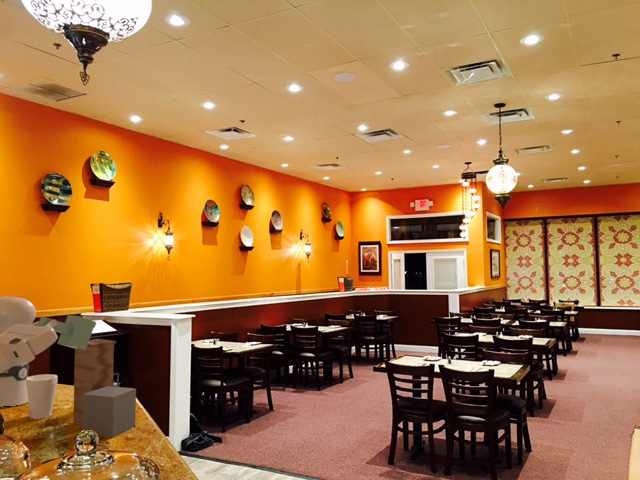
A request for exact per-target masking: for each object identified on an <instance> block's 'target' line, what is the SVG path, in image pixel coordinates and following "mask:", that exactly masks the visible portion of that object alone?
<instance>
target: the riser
mask: <svg viewBox="0 0 640 480" xmlns="http://www.w3.org/2000/svg"><path fill="white" fill-rule="evenodd" d="M136 403H137V388H132V387H122V386H121V387H120V386H119V387H117V386H114V387H110V386H106V387H103V388H100V389H97V390H94V391H91V392H88V393H85V394H83V409H82V425H81V432H82V431H83V430H93V431H95V432H96V433H97V434H98V436H97V437H102V438H103V437H104V438H111V439H113V438H115V437H117V436H119V435H121V434H123V433H126V432H128V431H130V430H131V428H132V427H134V426H135V427H136V415H137V414H136V411H137V409H136V408H137V404H136ZM135 427H134V428H135ZM129 429H130V430H129ZM132 429H133V428H132ZM127 430H128V431H127Z"/></svg>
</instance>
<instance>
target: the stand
mask: <svg viewBox="0 0 640 480" xmlns="http://www.w3.org/2000/svg"><path fill="white" fill-rule="evenodd" d="M116 344H117V341H116V340H109V339H101V338H95V339H89V342H88V345H87V348H86V350H82V349H76V348H74V372H73V373H74V377H73V379H74V381H73V383H74V384H73V415H72V416H73V421H72V423H74V424H77V425H80V426H82V409H83V394H85V393H88V392H91V391H94V390H97V389H100V388H103V387H106V386H110V387H113V373H114V362H115V359H114V356H115V355H114V354H115V351H114V350H115V345H116ZM113 361H114V362H113Z"/></svg>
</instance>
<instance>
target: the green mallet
mask: <svg viewBox="0 0 640 480" xmlns="http://www.w3.org/2000/svg"><path fill="white" fill-rule="evenodd" d="M50 320H54V319H53V318H50V317H49V318H48V317H45V316H40V318H39V323H38V326H39V327H43V326H45V325H46V324H47V322H48V321H50ZM56 322H57V325H56V326H54V327H53V329H54V331H55V332H56V333H60V335H59V337H58V341H57V343H56V344H58V345H62V346H64V347H65V346H66V347H68V348H72V349H75V348H76V349H82V350H86V348H87V345H88V342H89V340H91V336H92V334H93V332H94V329H95V328H96V325H97V322H96V321H94V320H92V319H89V318H86V317H83V316H80V315H70V314H68V315H67V317H66V320H65V322H62V321H59V320H56Z"/></svg>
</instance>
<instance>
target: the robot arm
mask: <svg viewBox="0 0 640 480" xmlns="http://www.w3.org/2000/svg"><path fill="white" fill-rule="evenodd" d="M36 315H37V309H36V307H35V305H34V304H33V303H32V302H31V301H29V299H26V298H23V297H17V296H8V295H7V296H1V297H0V407H1V408H3V407H2V406H11V407H15V406H16V405H17V406H21V405H24V404H27V403H28V404H29V402H28V394H27V386H26V378H28V377H29V376H28V374H29V372H30V371H29V370H30V363H31V362H32V361H34V360H35V358H36V355H39V354H40V353H43V352H44V351H45V350H47V349H48V348H50V347H51V346H52V345H53V344H54V343H55V342H56V341H57V339H59V337H58V335H57V332H55V331H54V329H53V327H54V326H56V325H57V322H56V321H57V320H56V319H53V320H50V321H48V322H47V324H46V325H45V326H43V327H39V326H38V323H39V321H40V320H39V321H36V322H34V321H35V319H36Z"/></svg>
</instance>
